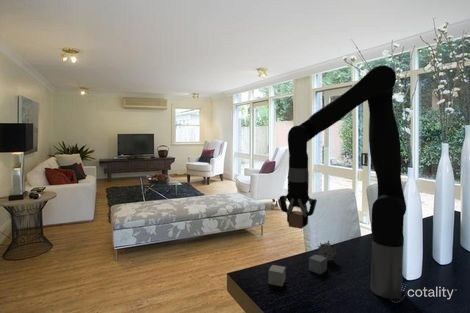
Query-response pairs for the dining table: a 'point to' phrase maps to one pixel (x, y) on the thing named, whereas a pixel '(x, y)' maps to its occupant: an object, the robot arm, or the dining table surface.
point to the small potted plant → (327, 251)
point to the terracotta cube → (296, 219)
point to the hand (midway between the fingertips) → (297, 224)
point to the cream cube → (277, 275)
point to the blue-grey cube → (317, 264)
